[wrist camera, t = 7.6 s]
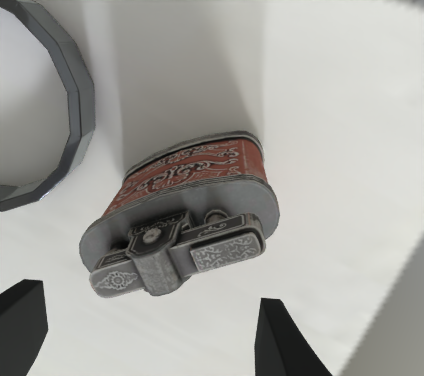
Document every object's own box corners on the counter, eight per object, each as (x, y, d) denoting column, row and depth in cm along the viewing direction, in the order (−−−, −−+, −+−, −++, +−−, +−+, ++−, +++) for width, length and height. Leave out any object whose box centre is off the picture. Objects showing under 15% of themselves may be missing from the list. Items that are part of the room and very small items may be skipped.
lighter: (139, 216, 23) (79, 341, 14) (115, 165, 22) (32, 264, 13) (270, 174, 22) (302, 282, 12) (252, 118, 21) (272, 190, 11)
